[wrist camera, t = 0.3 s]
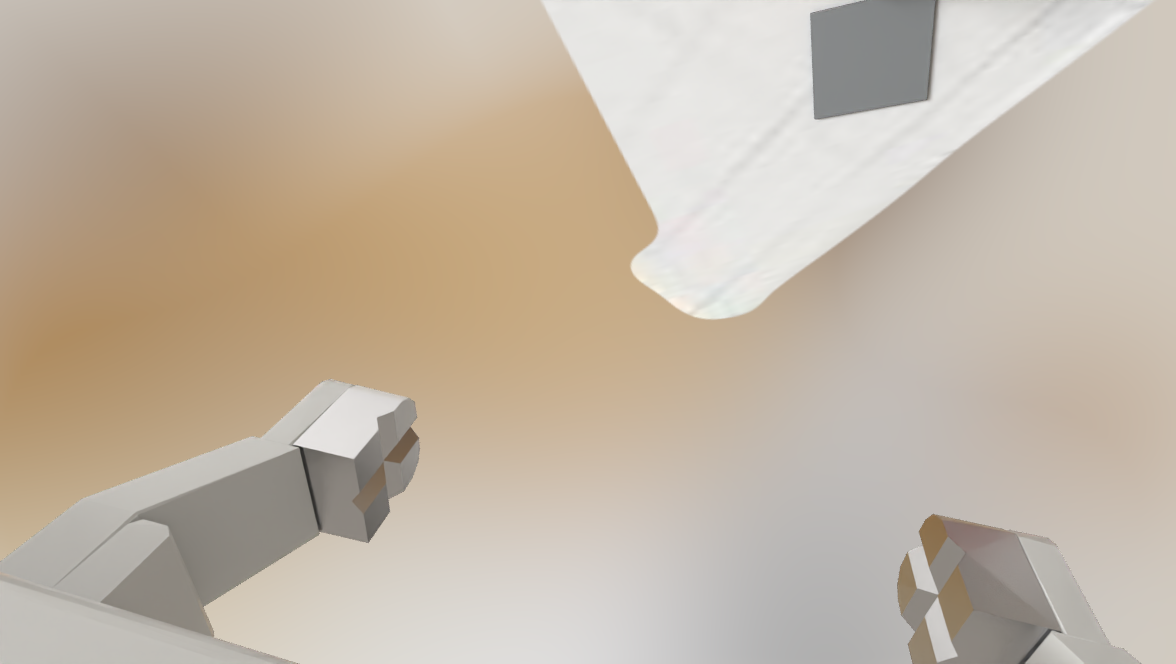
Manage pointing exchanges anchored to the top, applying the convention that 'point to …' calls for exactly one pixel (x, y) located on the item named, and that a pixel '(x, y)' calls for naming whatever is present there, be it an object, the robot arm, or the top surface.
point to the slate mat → (870, 55)
